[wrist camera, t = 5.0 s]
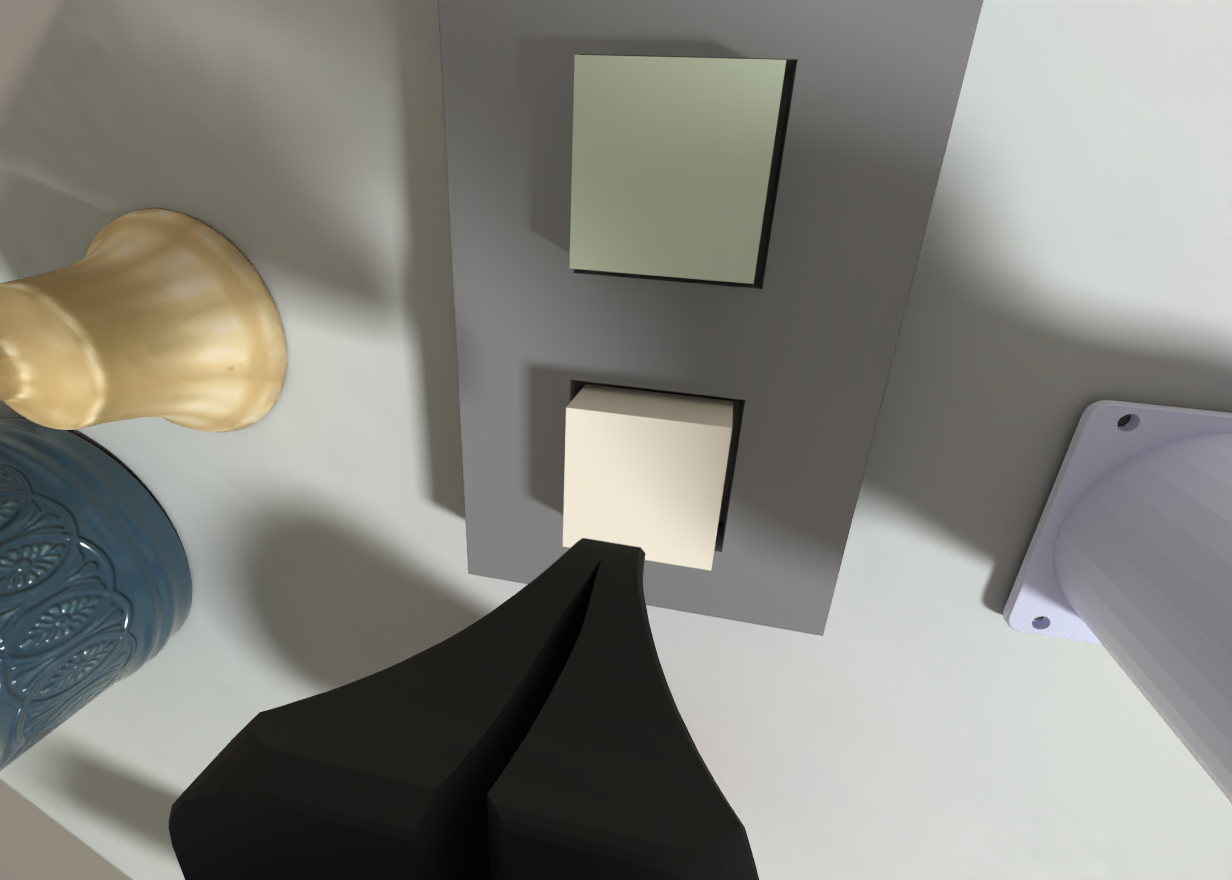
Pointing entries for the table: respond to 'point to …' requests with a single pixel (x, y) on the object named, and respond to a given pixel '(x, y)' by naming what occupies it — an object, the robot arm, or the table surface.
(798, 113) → the keypad
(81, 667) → the canister
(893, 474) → the table surface
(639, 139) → the sage key
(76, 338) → the hand bell
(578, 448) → the cream key
